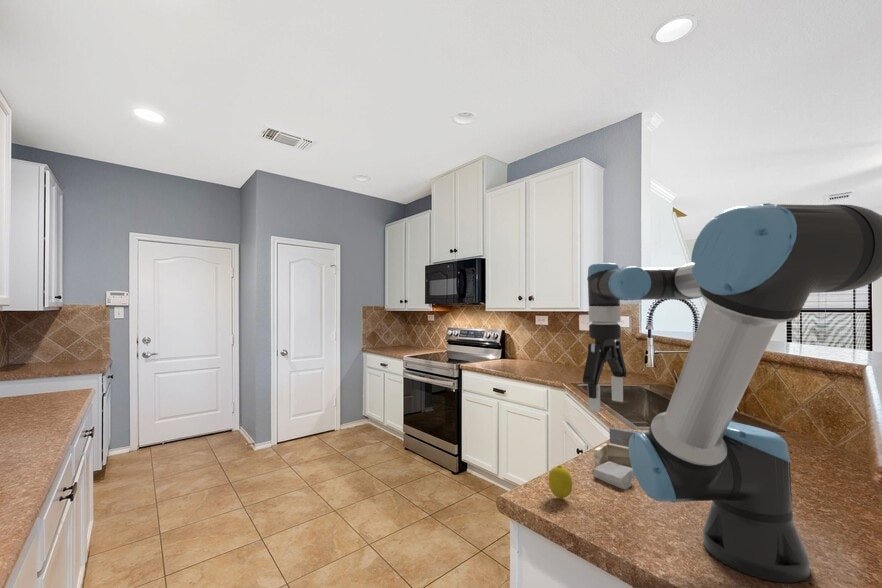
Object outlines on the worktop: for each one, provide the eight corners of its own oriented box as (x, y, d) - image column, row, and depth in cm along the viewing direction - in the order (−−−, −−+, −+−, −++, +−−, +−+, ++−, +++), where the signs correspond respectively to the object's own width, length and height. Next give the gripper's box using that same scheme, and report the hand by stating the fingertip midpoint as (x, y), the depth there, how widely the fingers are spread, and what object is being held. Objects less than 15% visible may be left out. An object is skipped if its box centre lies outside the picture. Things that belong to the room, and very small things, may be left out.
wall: (667, 467, 112) (666, 438, 112) (610, 454, 123) (609, 428, 123) (669, 465, 113) (667, 437, 114) (612, 452, 124) (611, 427, 124)
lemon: (562, 492, 97) (561, 459, 97) (577, 502, 92) (576, 467, 92) (544, 496, 95) (543, 463, 95) (558, 506, 90) (557, 471, 90)
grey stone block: (597, 490, 105) (587, 469, 106) (611, 478, 109) (601, 458, 110) (627, 493, 97) (616, 470, 98) (641, 480, 100) (630, 458, 101)
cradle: (649, 481, 102) (648, 461, 102) (594, 467, 111) (594, 449, 112) (658, 471, 108) (657, 453, 108) (605, 458, 118) (605, 442, 118)
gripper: (610, 321, 111) (612, 395, 111) (566, 325, 94) (568, 412, 94) (638, 321, 106) (640, 399, 105) (596, 325, 89) (599, 419, 88)
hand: (606, 406), depth 99 cm, fingers open, 13 cm apart
